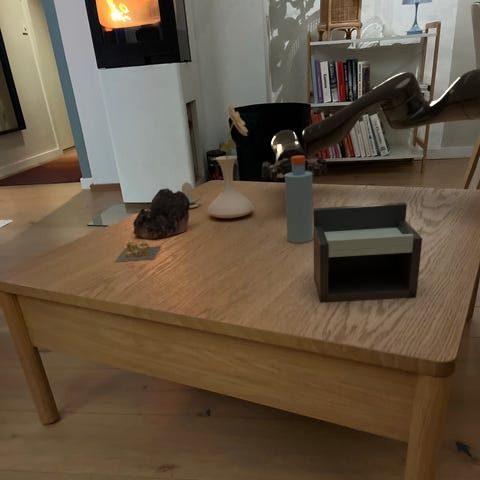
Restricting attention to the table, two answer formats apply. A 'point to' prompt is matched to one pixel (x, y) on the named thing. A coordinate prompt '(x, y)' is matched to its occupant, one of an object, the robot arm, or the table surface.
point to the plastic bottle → (299, 202)
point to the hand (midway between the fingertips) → (295, 174)
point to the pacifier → (189, 194)
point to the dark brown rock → (163, 215)
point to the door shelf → (365, 253)
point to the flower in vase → (230, 179)
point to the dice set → (138, 252)
